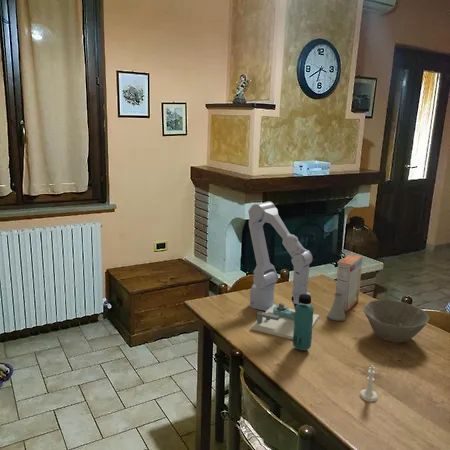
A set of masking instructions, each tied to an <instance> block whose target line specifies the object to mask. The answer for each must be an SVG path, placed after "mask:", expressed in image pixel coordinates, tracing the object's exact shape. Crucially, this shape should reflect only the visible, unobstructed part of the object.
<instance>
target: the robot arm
mask: <svg viewBox="0 0 450 450" xmlns="http://www.w3.org/2000/svg"><path fill="white" fill-rule="evenodd" d="M248 216H249V218H248V228H249V233H250V238H251V244H252V247H253V253H254V258H255V263H256V266H255V268H254V269H253V280H252V281H253V284H252V286H251V287H250V292H249V306H248V308H251V309H255V310H260V311H265V312H266V311H267V310H268V309H269V308H270V307H272V306H273V305H276V306H277V303H274V301H275V300H274V297H275V296H274V295H275V286H276V283H277V282H278V281H279V275H278V274H279V273H277V271H276V268H275V265H273V264H272V263H271V261H270V256H269V251H268V247H267V246H268V245H267V242H266V237H265V232H264V224H265V223H268V224H269V225H271V226H272V227H273V228H274V229H275V232H277V234H278V235H279V236H280V237H281V239H282V245H283V247H284V248H285V249H286V251H287V253H288V254H289V255H290V257H291V259H290V260H291V264H292V266H293V278H292V279H293V280H292V291H291V295H292V297H291V302H292V303H293V307H294V308H293V309H295V306H296V305H298V304H299V303H300V302H299V296H300V295H301V294H307V295H310V296H311V292H309V291H308V289H309V277H310V276H309V275H310V264H312V262H313V260H314V259H313V254H312V252H311V251H310V250H309V249H306V248H305V247H304V246H303V245H302V244H301V242H300V241H299V237H298V236H296V235H295V234H292V233H290V231H289V230H288V228H287V226H286V224H285V223H284V221H283V220H282V219H281V216H280V215H279V209H278V208H277V207H276V205H275V204H274V203H273V201H265V202H261V203H257V204H256V203H255V204H253V205H251V206H250V207H249V209H248Z"/></svg>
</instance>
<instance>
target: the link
mask: <svg viewBox="0 0 450 450" xmlns="http://www.w3.org/2000/svg"><path fill="white" fill-rule="evenodd" d="M289 309H290V308H289V307H287V306H286V305H284V311H279V305H276V307H274V308H273V312H274V314H275V315H278V316H285V317H288V318H290V319H293V320H295V319H294V317H295V312H293V311H290V310H289ZM312 324H313V323H312Z"/></svg>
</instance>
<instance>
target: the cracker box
mask: <svg viewBox="0 0 450 450" xmlns="http://www.w3.org/2000/svg"><path fill="white" fill-rule="evenodd" d="M362 265H363V255H359V254H358V255H357V254H354V253H353V254H352V253H349V254H348V255H346V256H344V258H342V259H341V260H339V261H338V262H337V270H336V271H337V272H336V285H335V286H336V287H335V293H341V294H343V296H342V306H343V310H344V312H345V313H346V312H349V311H350V310H351V309H352V308H353V307H354V306H355V304H357V303H358V302H359V296H360V286H361V277H362V276H361V275H362V267H363V266H362Z"/></svg>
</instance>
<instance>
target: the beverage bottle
mask: <svg viewBox="0 0 450 450" xmlns="http://www.w3.org/2000/svg"><path fill="white" fill-rule="evenodd" d="M299 302H300V303H299V304H298V305H296V306H295V308H294V310H295V317H294V319H295V320H294V329H293V330H294V335H293V340H292V345H293V347H294V348H295V349H297V350H301V351H306V350H309V349H310V348H311V346H312V340H313V338H312V337H313V328H312V323H313V314H314V310H315V309H314V307H313V306H312V305H311V303H312V296H311V294H310V295H307V294H301V295H300V296H299Z"/></svg>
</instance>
